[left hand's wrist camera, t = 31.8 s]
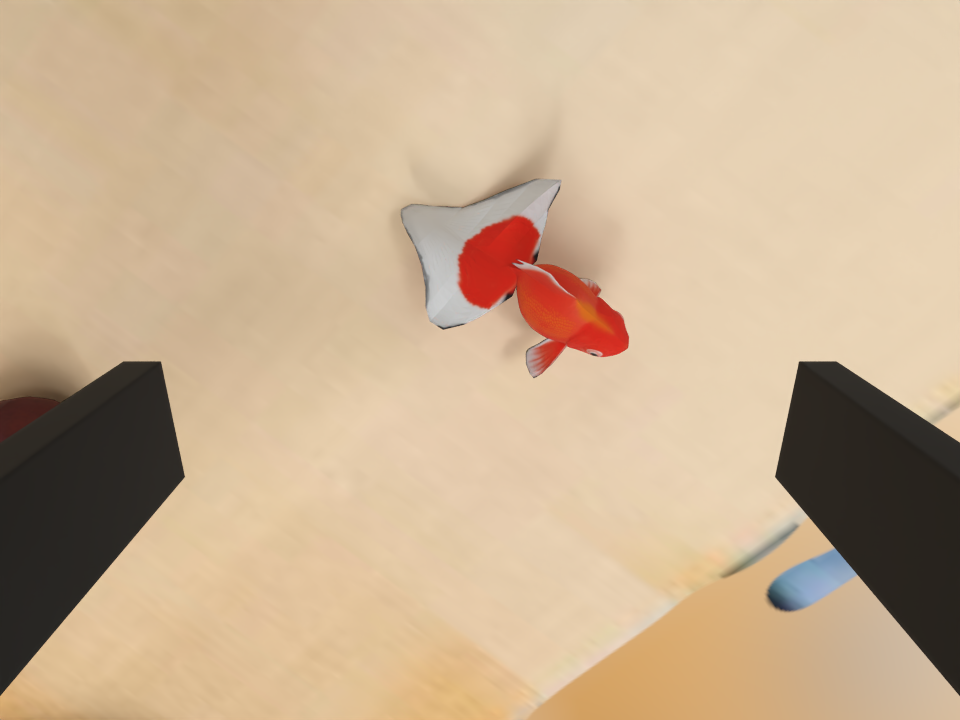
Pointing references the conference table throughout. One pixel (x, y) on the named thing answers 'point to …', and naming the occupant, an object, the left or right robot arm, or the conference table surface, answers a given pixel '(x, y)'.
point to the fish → (509, 273)
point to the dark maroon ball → (21, 413)
